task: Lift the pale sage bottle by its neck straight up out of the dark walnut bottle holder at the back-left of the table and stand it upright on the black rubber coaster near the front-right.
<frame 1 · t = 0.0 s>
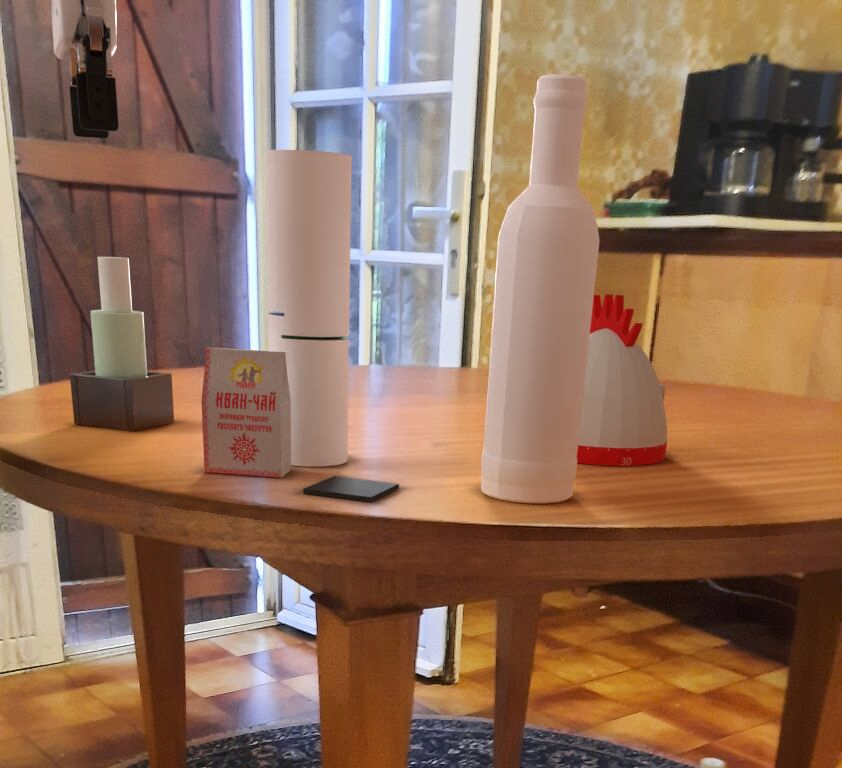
hand: (95, 133, 97), 26 cm above the table, tool pointing down, fingers open, 9 cm apart
cylindrical container: (309, 461, 100), on the table
holder: (125, 423, 113), on the table
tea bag: (248, 473, 94), on the table
bottle: (119, 342, 110), in the holder
kitchen timer: (596, 454, 110), on the table
bottle 2: (526, 496, 90), on the table
coaster: (351, 490, 88), on the table
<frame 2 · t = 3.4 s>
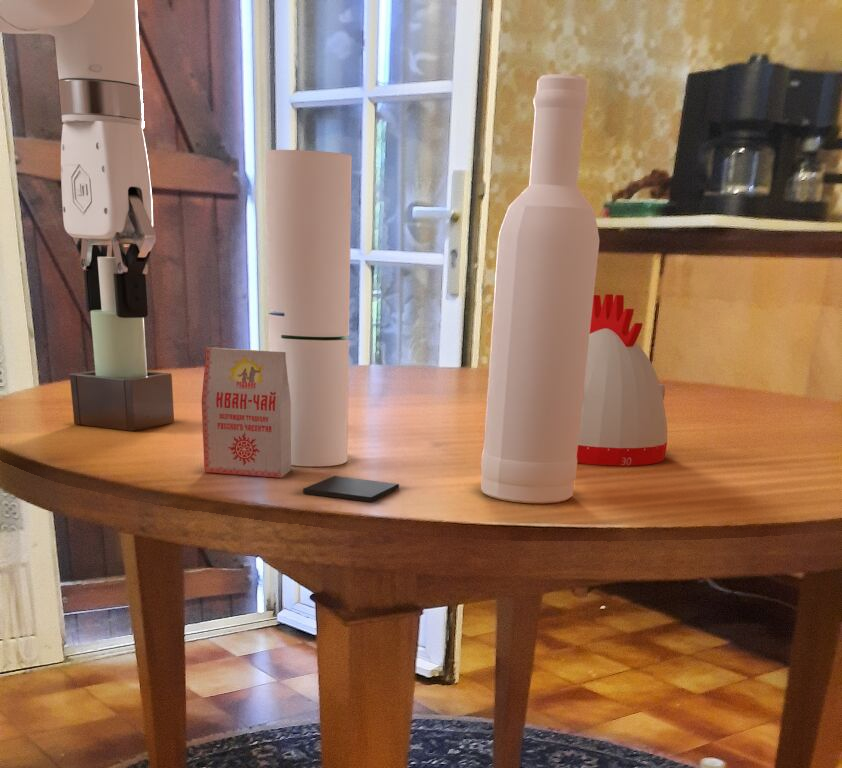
hand: (117, 312, 108), 11 cm above the table, tool pointing down, fingers closed on bottle, 5 cm apart
bottle: (119, 342, 110), in the holder, touching gripper
everything else where it was.
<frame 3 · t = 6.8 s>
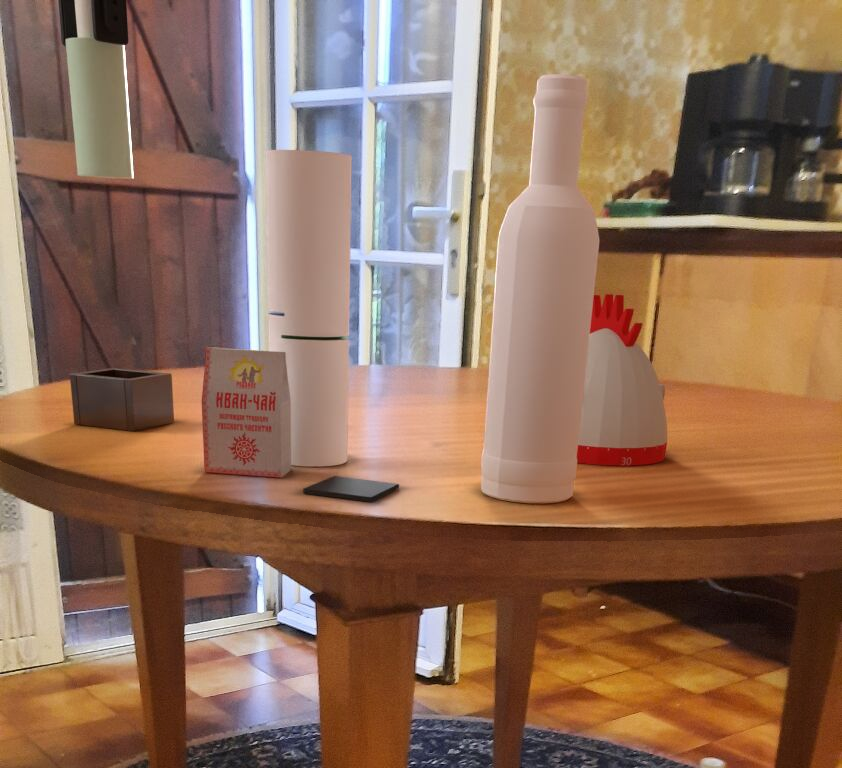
hand: (94, 43, 98), 34 cm above the table, tool pointing down, fingers closed on bottle, 5 cm apart
bottle: (98, 80, 100), point 31 cm above the table, touching gripper
everything else where it was.
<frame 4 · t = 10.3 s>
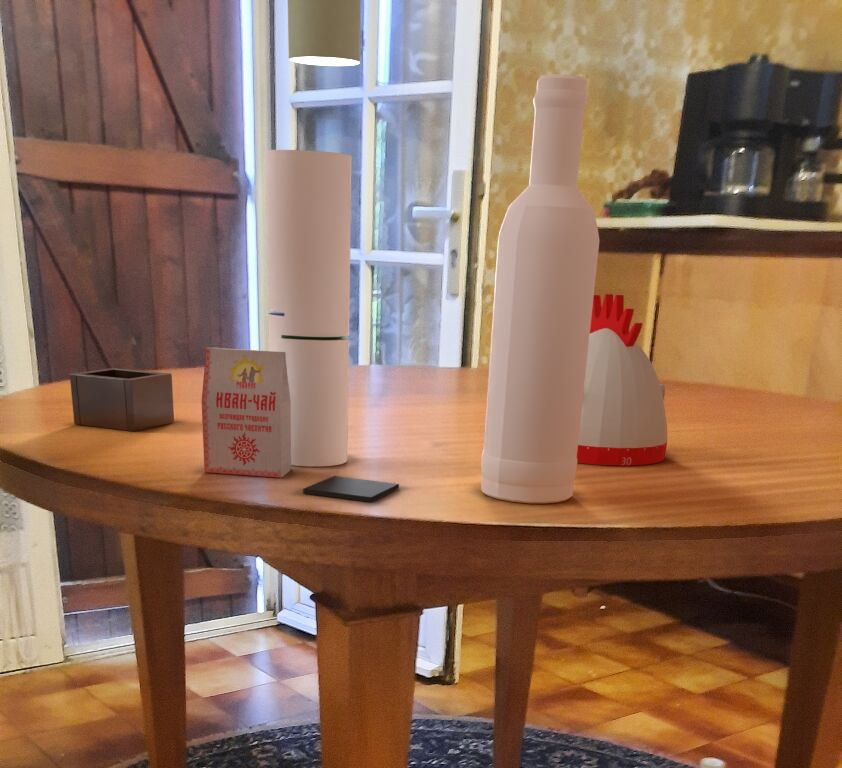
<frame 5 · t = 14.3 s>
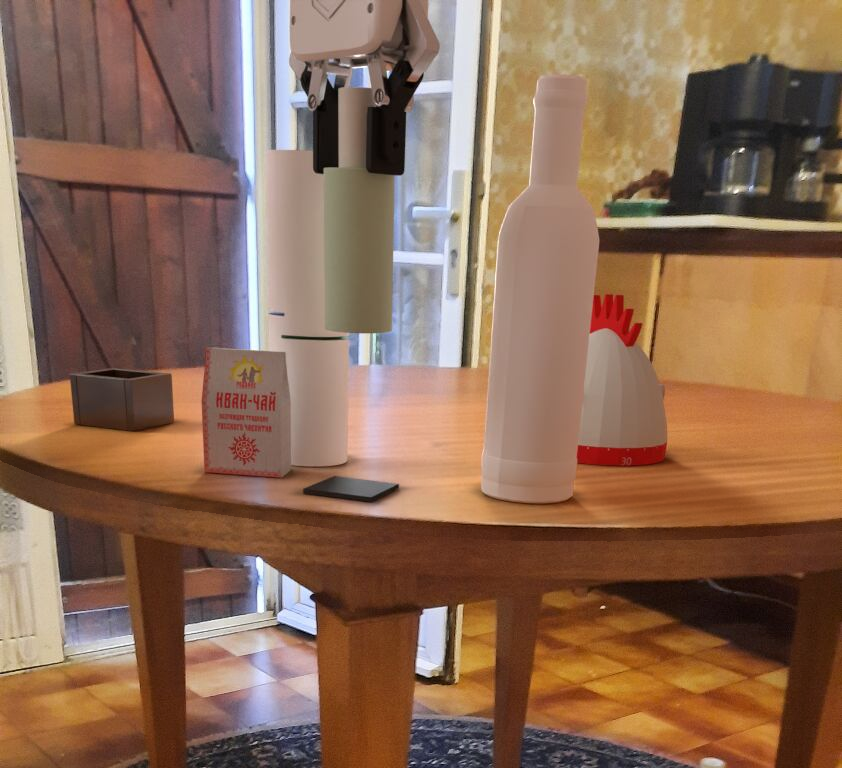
hand: (358, 171, 78), 23 cm above the table, tool pointing down, fingers closed on bottle, 5 cm apart
bottle: (359, 215, 79), point 20 cm above the table, touching gripper
everything else where it was.
when the fingers open (11 cm above the table, at t = 17.3 s): bottle stays where it is, resting on coaster.
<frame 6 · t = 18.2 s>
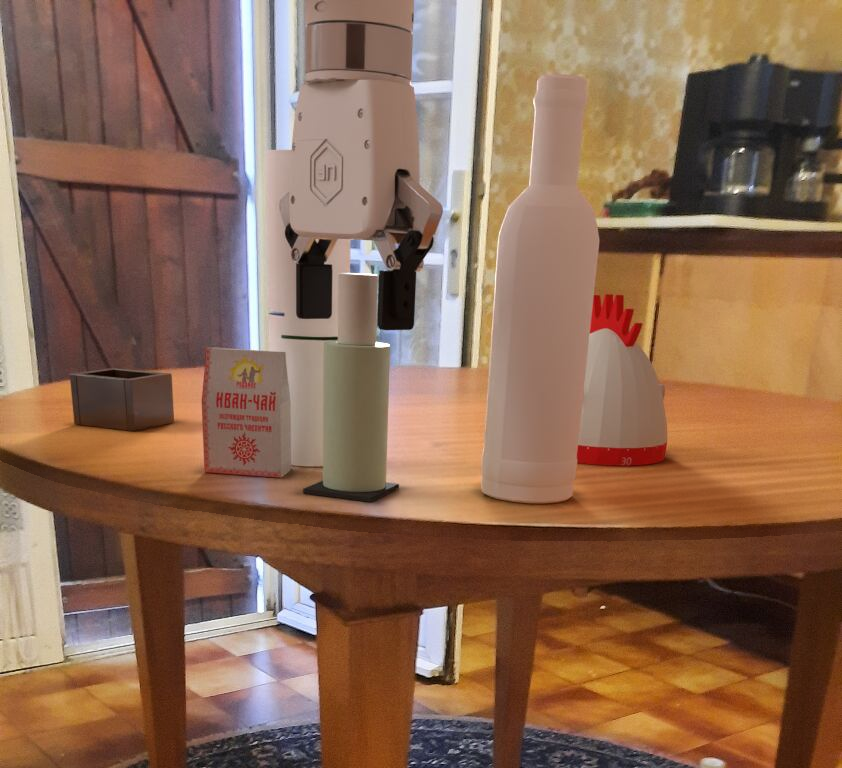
hand: (353, 323, 83), 13 cm above the table, tool pointing down, fingers open, 9 cm apart
bottle: (356, 383, 85), on the coaster
everything else where it was.
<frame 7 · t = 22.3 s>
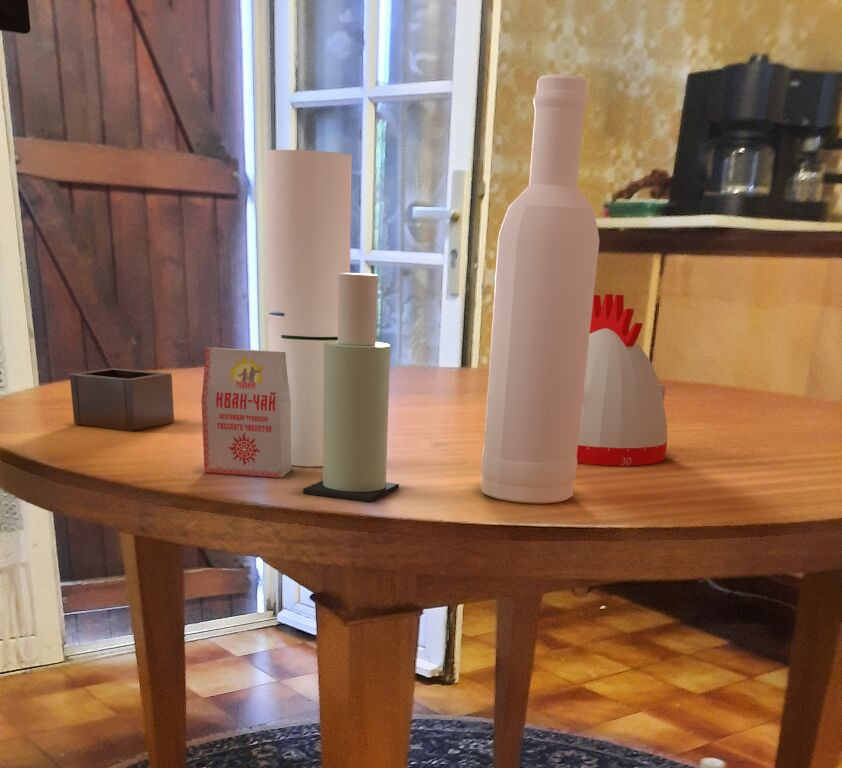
nothing on the table moved.
at the end: bottle 0.4 cm off-centre on the coaster, point 8.4 cm above the coaster's base; bottle tilted 0°; bottle moved 38.1 cm from its start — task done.
